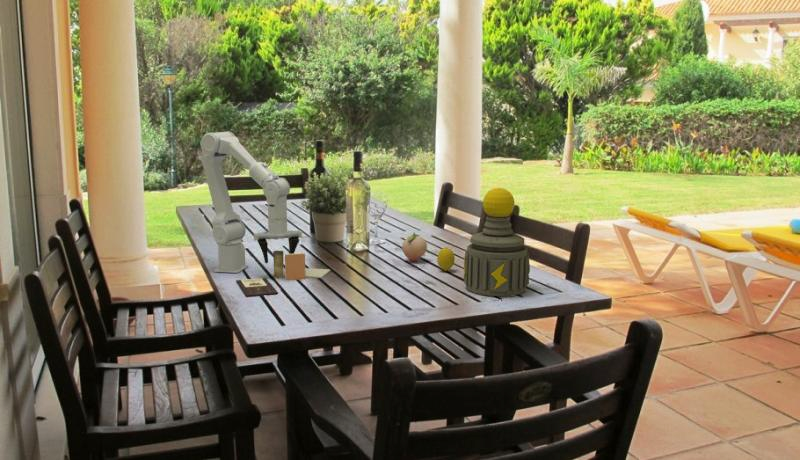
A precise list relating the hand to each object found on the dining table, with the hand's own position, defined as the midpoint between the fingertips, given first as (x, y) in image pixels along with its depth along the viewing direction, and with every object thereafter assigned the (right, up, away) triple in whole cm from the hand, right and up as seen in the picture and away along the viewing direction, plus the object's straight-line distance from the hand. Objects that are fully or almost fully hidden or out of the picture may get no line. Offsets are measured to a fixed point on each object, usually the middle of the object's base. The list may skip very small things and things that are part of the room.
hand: (278, 261), depth 228 cm
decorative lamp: (+66, -8, -11) cm, 67 cm away
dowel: (0, -5, +1) cm, 5 cm away
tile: (+5, -5, -2) cm, 8 cm away
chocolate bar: (-4, -8, -12) cm, 15 cm away
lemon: (+52, -4, +10) cm, 53 cm away
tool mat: (+10, -4, +5) cm, 12 cm away
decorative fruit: (+43, -1, +24) cm, 49 cm away
